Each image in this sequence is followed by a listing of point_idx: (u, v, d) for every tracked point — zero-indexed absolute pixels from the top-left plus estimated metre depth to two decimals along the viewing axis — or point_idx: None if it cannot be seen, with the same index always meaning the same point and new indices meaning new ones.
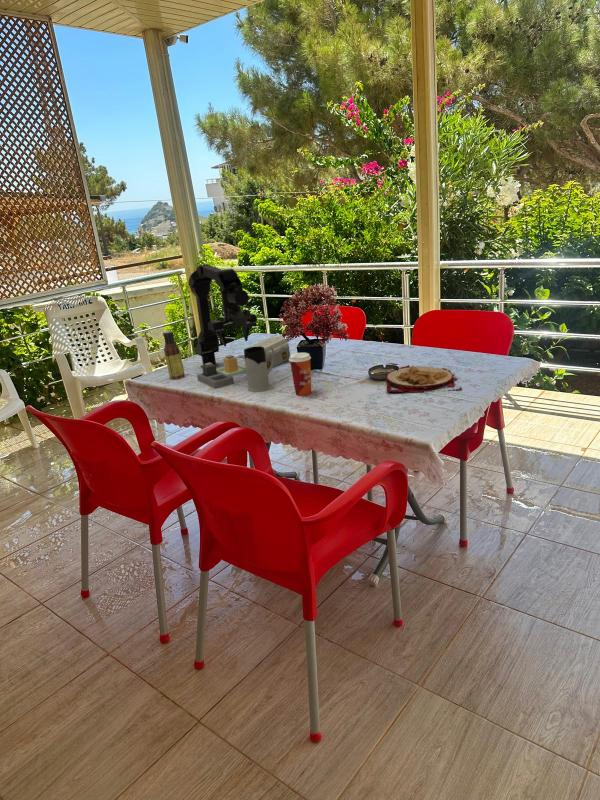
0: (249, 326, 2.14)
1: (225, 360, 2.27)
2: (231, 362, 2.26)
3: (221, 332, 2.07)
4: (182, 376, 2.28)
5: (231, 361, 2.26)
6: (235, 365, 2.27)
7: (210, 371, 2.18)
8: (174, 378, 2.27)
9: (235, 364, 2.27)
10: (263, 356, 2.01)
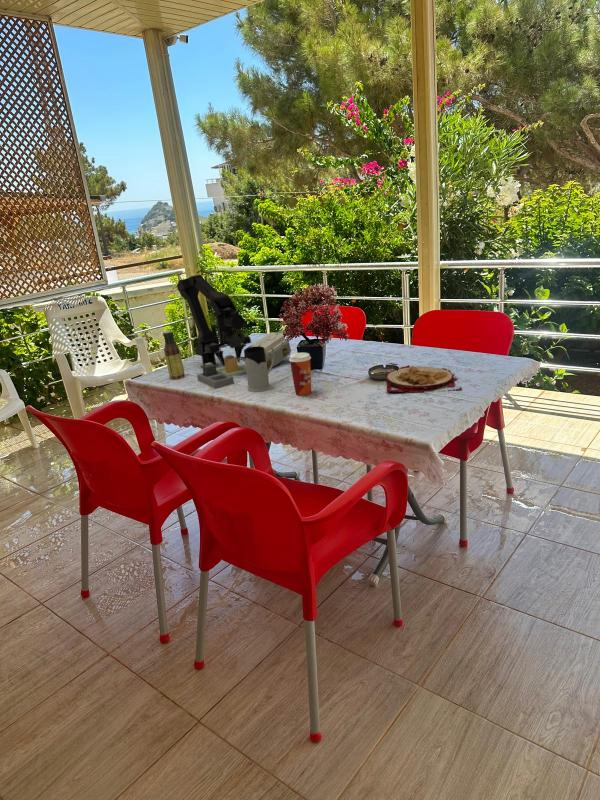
0: (241, 348, 2.27)
1: (225, 360, 2.27)
2: (231, 362, 2.26)
3: (220, 353, 2.22)
4: (182, 376, 2.28)
5: (231, 361, 2.26)
6: (235, 365, 2.27)
7: (210, 371, 2.18)
8: (174, 378, 2.27)
9: (235, 364, 2.27)
10: (263, 356, 2.01)
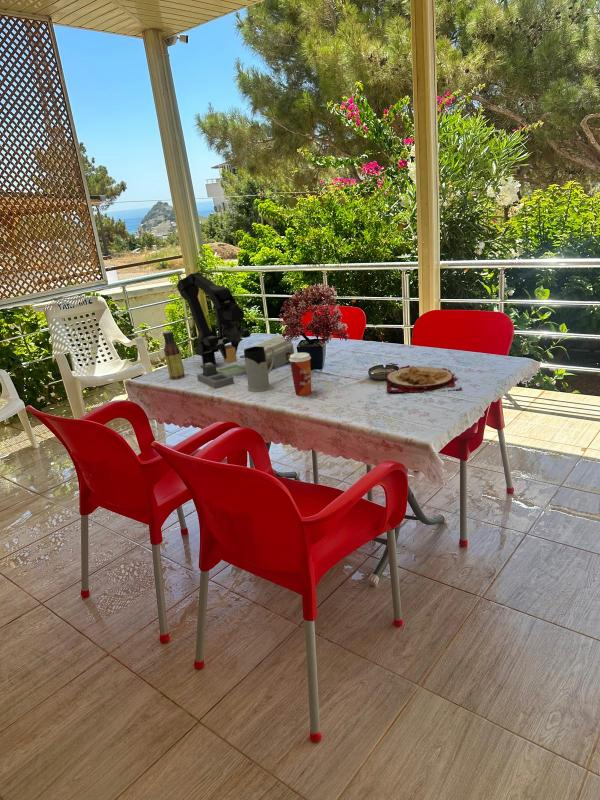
0: (237, 342, 2.25)
1: None
2: (229, 352, 2.24)
3: (221, 346, 2.21)
4: (182, 376, 2.28)
5: (230, 350, 2.24)
6: (234, 355, 2.26)
7: (210, 371, 2.18)
8: (174, 378, 2.27)
9: (234, 354, 2.26)
10: (263, 356, 2.01)
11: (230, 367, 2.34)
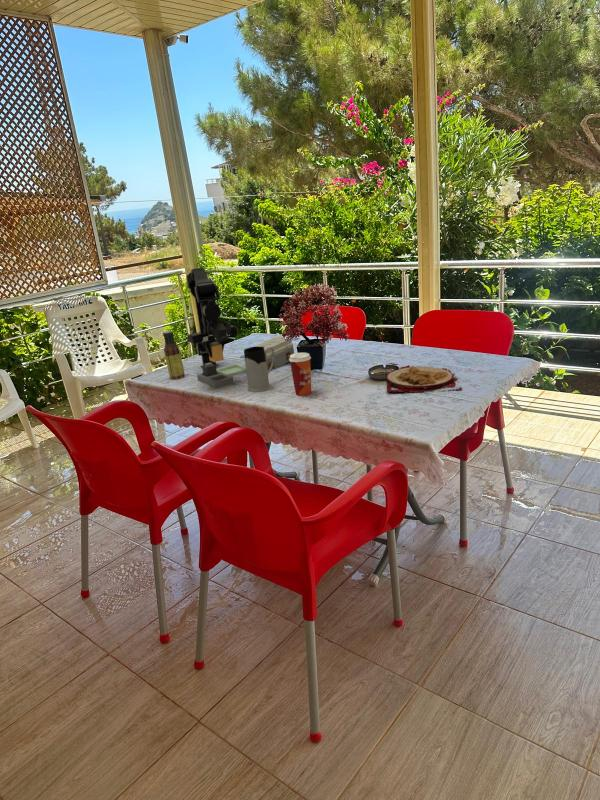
0: (224, 340, 2.10)
1: None
2: (215, 350, 2.09)
3: (207, 343, 2.06)
4: (182, 376, 2.28)
5: (216, 348, 2.09)
6: (220, 353, 2.10)
7: (210, 371, 2.18)
8: (174, 378, 2.27)
9: (220, 352, 2.10)
10: (263, 356, 2.01)
11: (230, 367, 2.34)
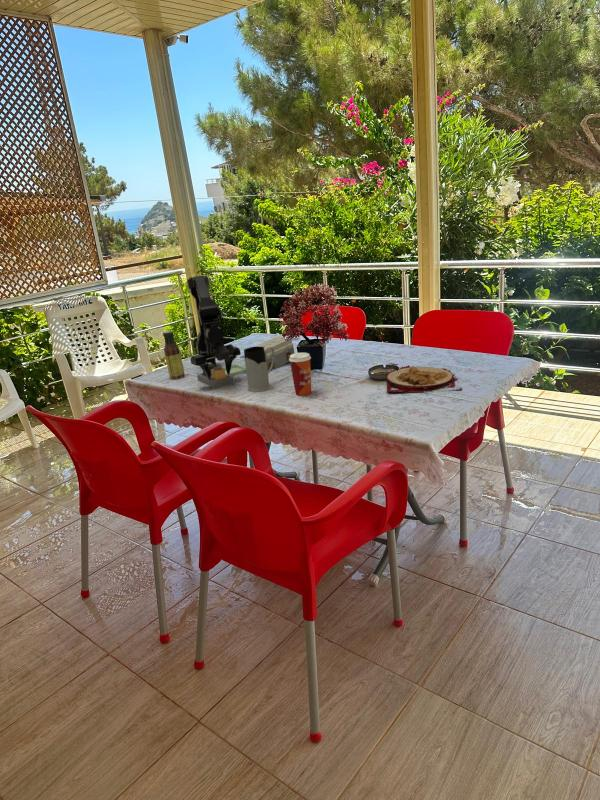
0: (231, 360, 2.13)
1: (213, 371, 2.13)
2: (218, 374, 2.12)
3: (205, 366, 2.07)
4: (182, 376, 2.28)
5: (219, 372, 2.12)
6: (223, 377, 2.13)
7: (210, 371, 2.18)
8: (174, 378, 2.27)
9: (223, 376, 2.13)
10: (263, 356, 2.01)
11: None
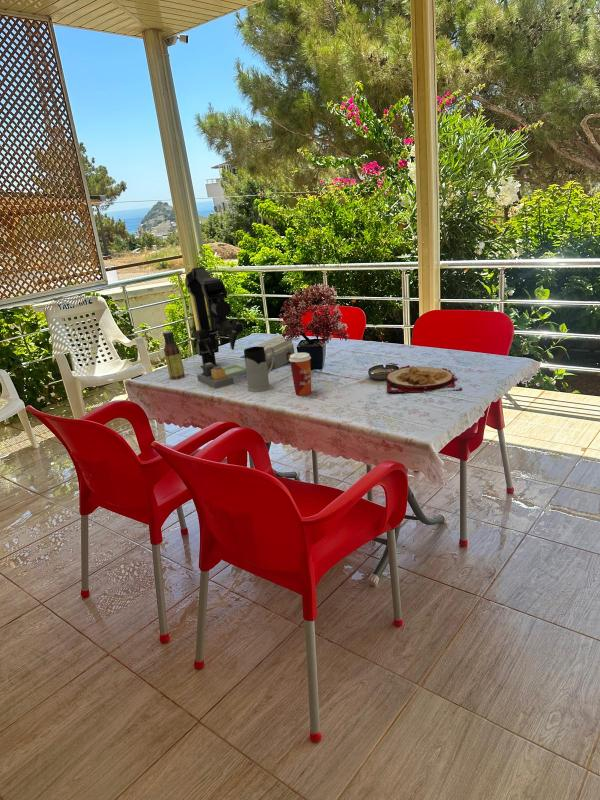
0: (235, 335, 2.16)
1: (213, 371, 2.13)
2: (218, 374, 2.12)
3: (207, 341, 2.10)
4: (182, 376, 2.28)
5: (219, 372, 2.12)
6: (223, 377, 2.13)
7: (210, 371, 2.18)
8: (174, 378, 2.27)
9: (223, 376, 2.13)
10: (263, 356, 2.01)
11: (230, 367, 2.34)
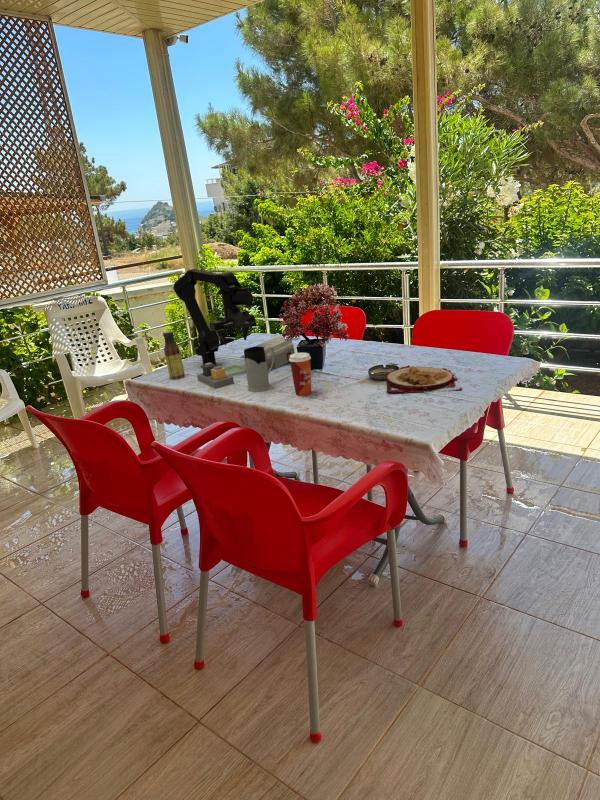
0: (248, 326, 2.28)
1: (213, 371, 2.13)
2: (218, 374, 2.12)
3: (222, 332, 2.21)
4: (182, 376, 2.28)
5: (219, 372, 2.12)
6: (223, 377, 2.13)
7: (210, 371, 2.18)
8: (174, 378, 2.27)
9: (223, 376, 2.13)
10: (263, 356, 2.01)
11: (230, 367, 2.34)
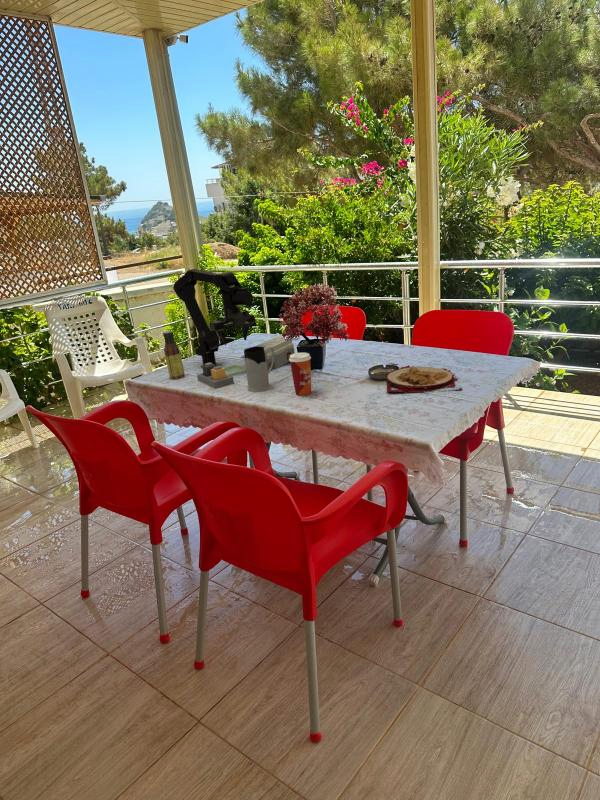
0: (248, 326, 2.28)
1: (213, 371, 2.13)
2: (218, 374, 2.12)
3: (222, 332, 2.21)
4: (182, 376, 2.28)
5: (219, 372, 2.12)
6: (223, 377, 2.13)
7: (210, 371, 2.18)
8: (174, 378, 2.27)
9: (223, 376, 2.13)
10: (263, 356, 2.01)
11: (230, 367, 2.34)
